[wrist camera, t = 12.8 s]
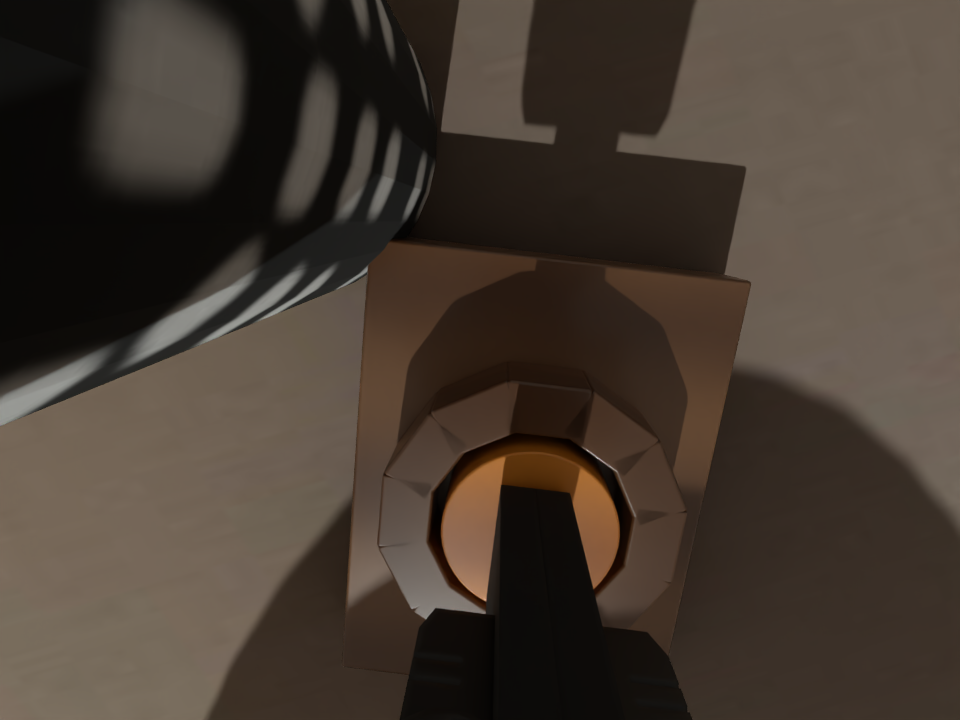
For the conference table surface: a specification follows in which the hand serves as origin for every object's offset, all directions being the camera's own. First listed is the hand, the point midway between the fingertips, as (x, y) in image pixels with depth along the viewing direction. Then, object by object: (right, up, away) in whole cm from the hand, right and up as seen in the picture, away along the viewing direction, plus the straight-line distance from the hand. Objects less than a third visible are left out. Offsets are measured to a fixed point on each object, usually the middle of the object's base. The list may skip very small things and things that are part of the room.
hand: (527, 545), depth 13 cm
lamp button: (0, +1, +2) cm, 2 cm away
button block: (0, +1, +4) cm, 5 cm away
